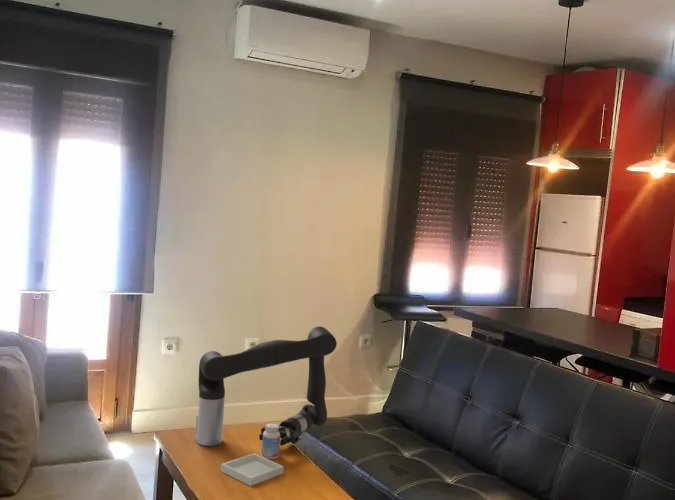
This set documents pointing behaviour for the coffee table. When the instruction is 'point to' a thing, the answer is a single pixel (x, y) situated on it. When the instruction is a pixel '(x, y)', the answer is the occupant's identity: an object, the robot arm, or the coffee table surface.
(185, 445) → the coffee table surface
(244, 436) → the coffee table surface
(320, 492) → the coffee table surface
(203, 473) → the coffee table surface
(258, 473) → the tray
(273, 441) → the pill bottle
